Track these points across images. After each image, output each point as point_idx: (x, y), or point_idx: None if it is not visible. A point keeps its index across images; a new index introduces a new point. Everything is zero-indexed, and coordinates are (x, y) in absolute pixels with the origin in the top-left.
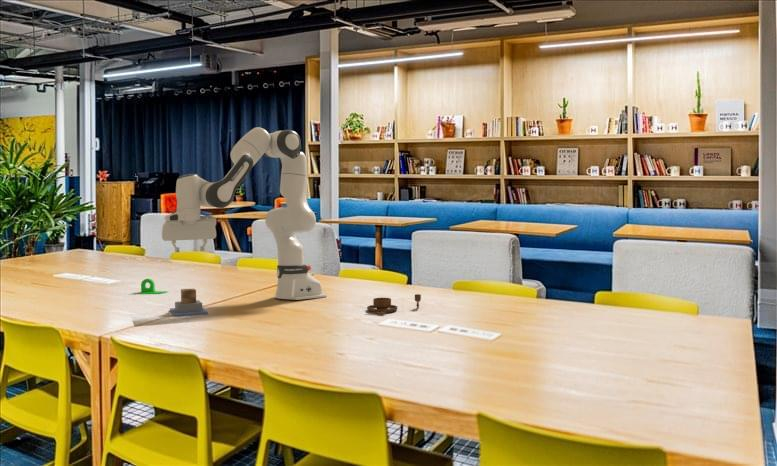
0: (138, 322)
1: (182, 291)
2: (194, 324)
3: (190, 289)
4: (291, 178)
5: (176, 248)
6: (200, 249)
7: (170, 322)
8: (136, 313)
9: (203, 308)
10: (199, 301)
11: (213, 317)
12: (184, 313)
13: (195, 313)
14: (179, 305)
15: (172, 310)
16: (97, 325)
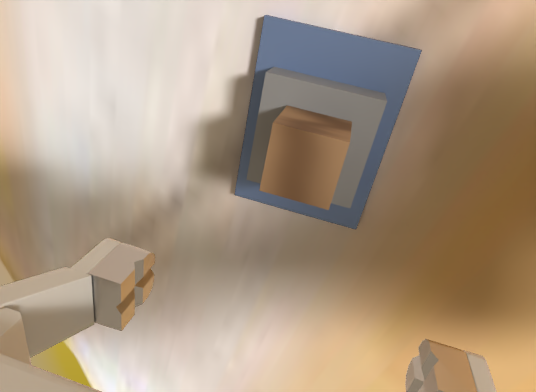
0: (116, 213)
1: (260, 188)
2: (245, 341)
3: (312, 173)
4: None
5: (93, 312)
6: (422, 367)
7: (197, 275)
8: (121, 3)
9: (389, 132)
10: (366, 149)
11: (338, 292)
12: (269, 200)
13: (309, 214)
14: (254, 179)
15: (254, 92)
16: (11, 180)
